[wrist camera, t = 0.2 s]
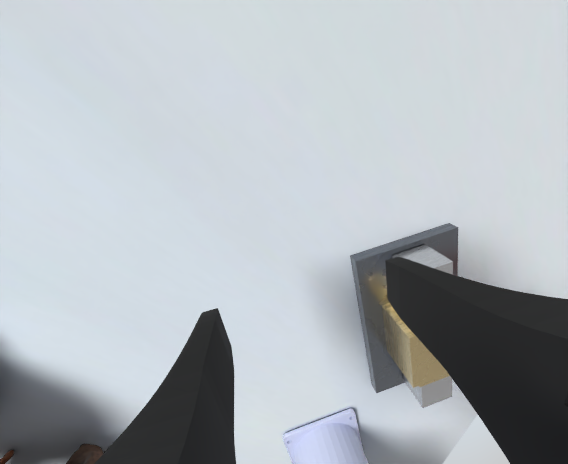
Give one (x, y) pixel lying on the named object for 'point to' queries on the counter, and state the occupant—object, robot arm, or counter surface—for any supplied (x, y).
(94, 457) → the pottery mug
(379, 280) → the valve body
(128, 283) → the counter surface
